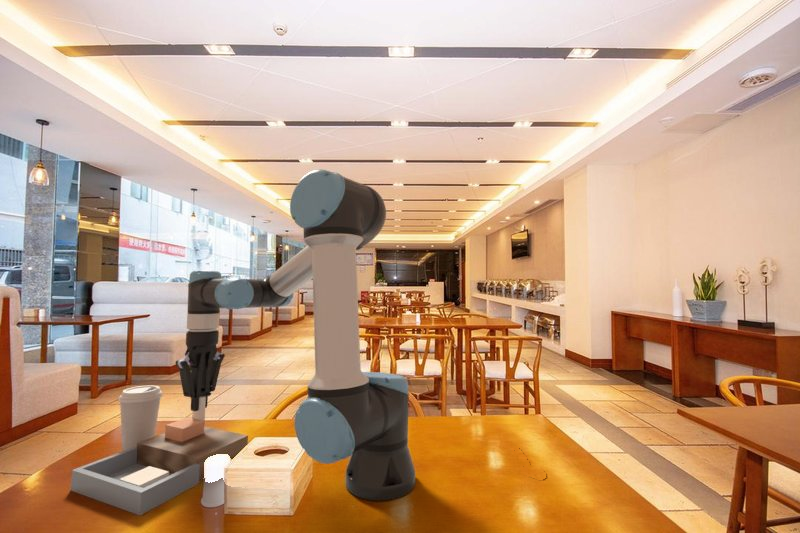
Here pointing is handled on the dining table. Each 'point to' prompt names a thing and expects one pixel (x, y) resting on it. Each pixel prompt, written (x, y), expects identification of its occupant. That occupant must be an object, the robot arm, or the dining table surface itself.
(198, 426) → the terracotta tile
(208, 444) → the dark brown wooden slab
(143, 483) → the cream tile
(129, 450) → the box
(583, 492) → the dining table surface
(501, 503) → the dining table surface
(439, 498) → the dining table surface
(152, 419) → the coffee cup
